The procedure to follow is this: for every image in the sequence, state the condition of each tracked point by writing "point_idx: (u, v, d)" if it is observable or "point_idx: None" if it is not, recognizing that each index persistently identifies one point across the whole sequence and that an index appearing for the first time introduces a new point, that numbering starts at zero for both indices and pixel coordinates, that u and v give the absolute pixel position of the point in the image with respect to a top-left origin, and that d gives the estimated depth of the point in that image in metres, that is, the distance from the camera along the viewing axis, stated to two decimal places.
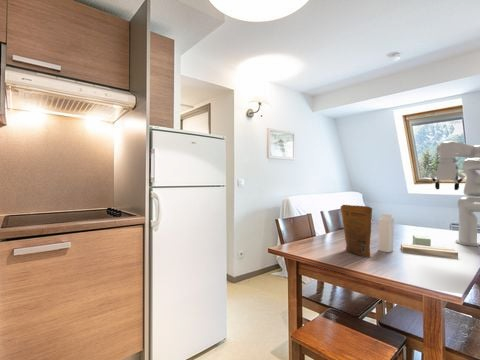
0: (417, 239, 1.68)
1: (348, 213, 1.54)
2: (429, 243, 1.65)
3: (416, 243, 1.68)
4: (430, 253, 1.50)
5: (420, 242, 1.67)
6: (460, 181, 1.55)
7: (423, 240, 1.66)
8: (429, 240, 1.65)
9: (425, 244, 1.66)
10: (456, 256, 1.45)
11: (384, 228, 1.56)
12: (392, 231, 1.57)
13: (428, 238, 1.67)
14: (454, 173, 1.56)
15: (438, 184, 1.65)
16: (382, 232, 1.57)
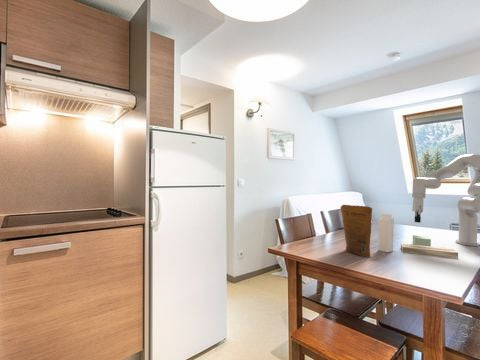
0: (417, 239, 1.68)
1: (348, 213, 1.54)
2: (429, 243, 1.65)
3: (416, 243, 1.68)
4: (430, 253, 1.50)
5: (420, 242, 1.67)
6: None
7: (423, 240, 1.66)
8: (429, 240, 1.65)
9: (425, 244, 1.66)
10: (456, 256, 1.45)
11: (384, 228, 1.56)
12: (392, 231, 1.57)
13: (428, 238, 1.67)
14: None
15: None
16: (382, 232, 1.57)
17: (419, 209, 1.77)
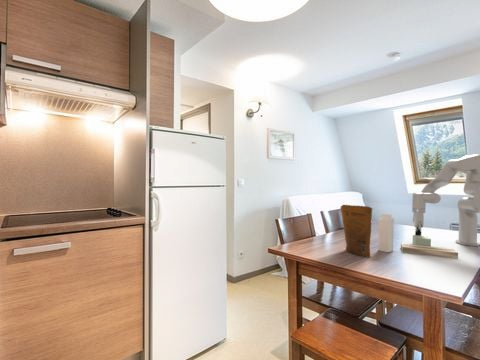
0: (417, 239, 1.68)
1: (348, 213, 1.54)
2: (429, 243, 1.65)
3: (416, 243, 1.68)
4: (430, 253, 1.50)
5: (420, 242, 1.67)
6: None
7: (423, 240, 1.66)
8: (429, 240, 1.65)
9: (425, 244, 1.66)
10: (456, 256, 1.45)
11: (384, 228, 1.56)
12: (392, 231, 1.57)
13: (428, 238, 1.67)
14: None
15: None
16: (382, 232, 1.57)
17: (419, 224, 1.76)
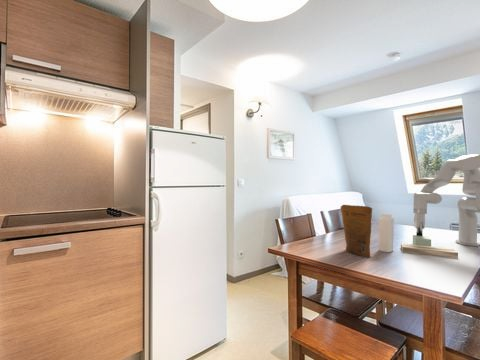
0: (417, 239, 1.67)
1: (348, 213, 1.54)
2: (429, 243, 1.64)
3: (416, 243, 1.67)
4: (430, 253, 1.50)
5: (420, 242, 1.66)
6: None
7: (423, 240, 1.65)
8: (429, 240, 1.64)
9: (425, 244, 1.65)
10: (456, 256, 1.45)
11: (384, 228, 1.56)
12: (392, 231, 1.57)
13: (428, 238, 1.66)
14: None
15: None
16: (382, 232, 1.57)
17: (421, 225, 1.72)
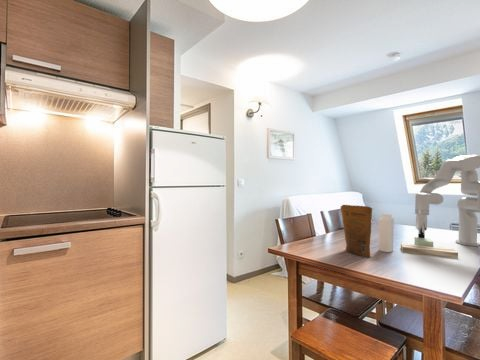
0: (419, 242, 1.61)
1: (348, 213, 1.54)
2: None
3: None
4: (430, 253, 1.50)
5: (422, 245, 1.60)
6: None
7: (425, 243, 1.60)
8: (431, 243, 1.58)
9: None
10: (456, 256, 1.45)
11: (384, 228, 1.56)
12: (392, 231, 1.57)
13: (430, 241, 1.60)
14: None
15: None
16: (382, 232, 1.57)
17: (423, 227, 1.66)
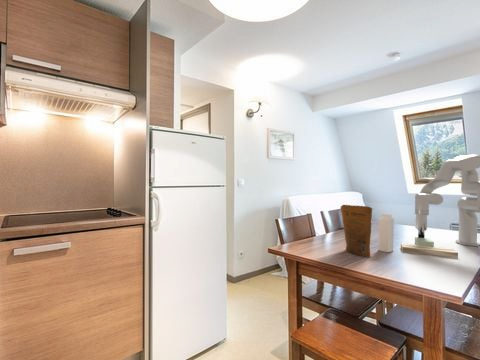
0: (419, 242, 1.60)
1: (348, 213, 1.54)
2: (432, 246, 1.58)
3: None
4: (430, 253, 1.50)
5: (423, 245, 1.60)
6: None
7: (426, 243, 1.59)
8: (432, 243, 1.58)
9: None
10: (456, 256, 1.45)
11: (384, 228, 1.56)
12: (392, 231, 1.57)
13: (431, 241, 1.60)
14: None
15: None
16: (382, 232, 1.57)
17: (423, 227, 1.68)
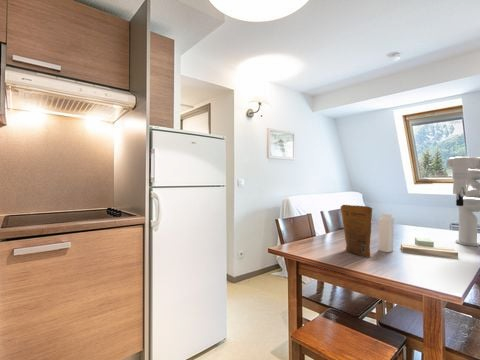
0: (419, 242, 1.61)
1: (348, 213, 1.54)
2: (432, 246, 1.58)
3: None
4: (430, 253, 1.50)
5: (422, 245, 1.60)
6: None
7: (426, 243, 1.59)
8: (432, 243, 1.58)
9: None
10: (456, 256, 1.45)
11: (384, 228, 1.56)
12: (392, 231, 1.57)
13: (431, 241, 1.60)
14: None
15: None
16: (382, 232, 1.57)
17: (461, 191, 1.61)
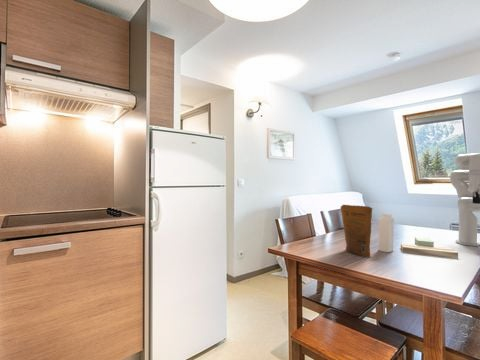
0: (419, 242, 1.61)
1: (348, 213, 1.54)
2: (432, 246, 1.58)
3: None
4: (430, 253, 1.50)
5: (422, 245, 1.60)
6: None
7: (426, 243, 1.59)
8: (432, 243, 1.58)
9: None
10: (456, 256, 1.45)
11: (384, 228, 1.56)
12: (392, 231, 1.57)
13: (431, 241, 1.60)
14: None
15: None
16: (382, 232, 1.57)
17: (479, 188, 1.56)
